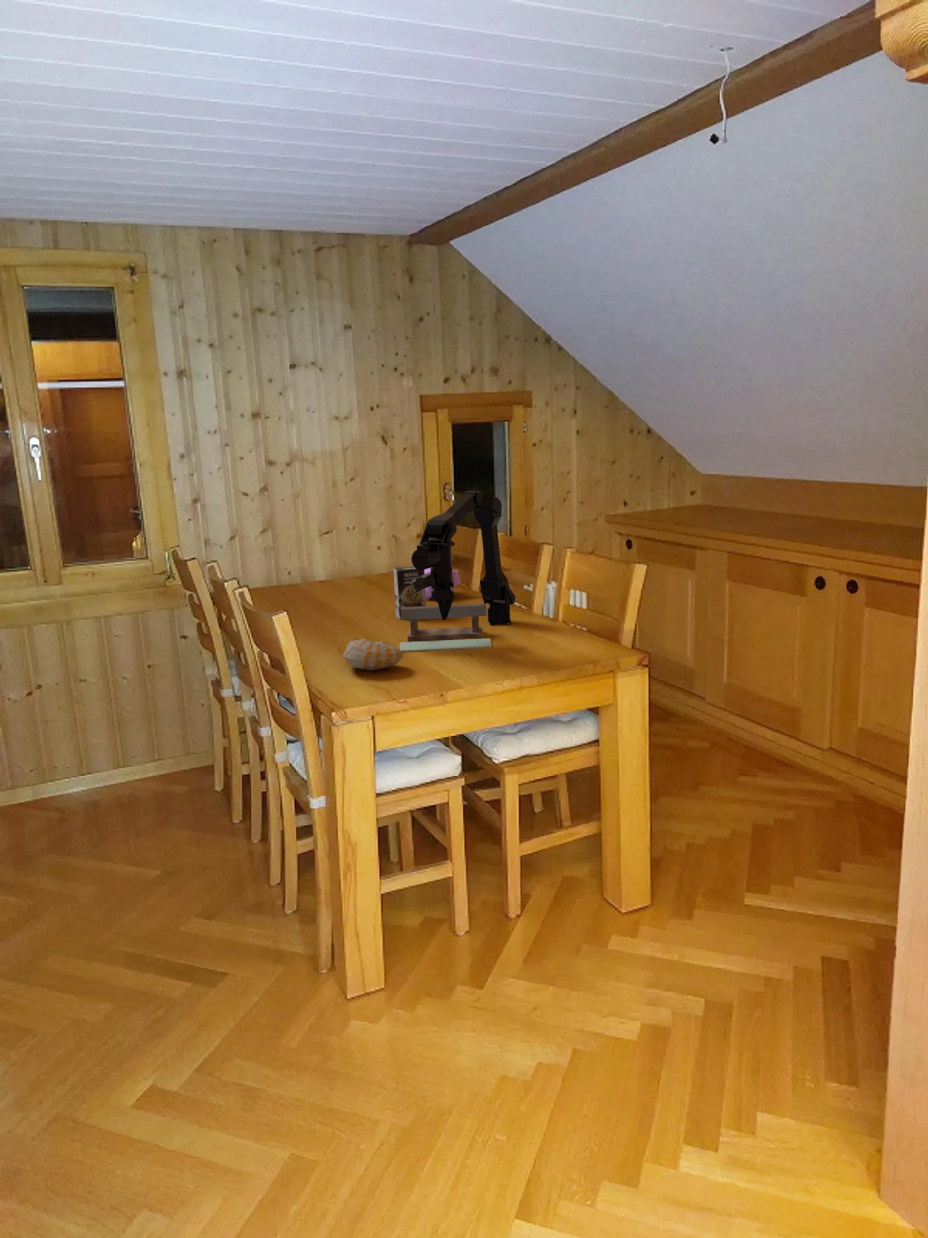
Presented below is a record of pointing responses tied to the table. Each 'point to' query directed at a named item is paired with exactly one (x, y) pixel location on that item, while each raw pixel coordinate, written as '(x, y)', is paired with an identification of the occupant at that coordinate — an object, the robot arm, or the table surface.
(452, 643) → the rubber mat
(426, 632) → the hook stand
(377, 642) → the nautilus
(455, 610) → the hang rail
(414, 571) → the cookie box
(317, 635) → the table surface
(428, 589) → the pink piggy bank
